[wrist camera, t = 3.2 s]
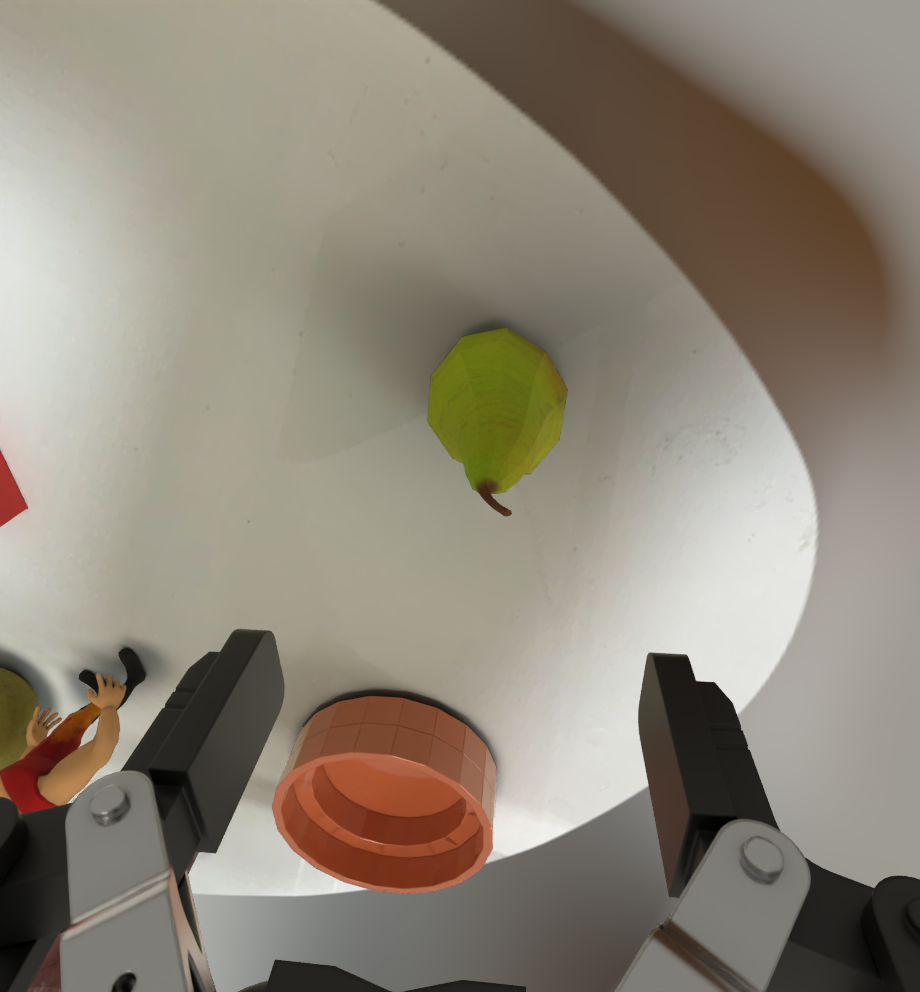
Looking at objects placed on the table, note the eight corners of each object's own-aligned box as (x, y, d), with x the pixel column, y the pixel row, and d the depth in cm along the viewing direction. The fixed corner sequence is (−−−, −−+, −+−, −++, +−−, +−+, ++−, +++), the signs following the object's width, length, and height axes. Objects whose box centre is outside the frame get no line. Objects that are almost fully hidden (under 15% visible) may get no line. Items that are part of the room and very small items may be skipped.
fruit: (420, 332, 29) (355, 433, 19) (552, 301, 28) (561, 390, 17) (455, 454, 32) (416, 600, 22) (576, 430, 31) (596, 574, 20)
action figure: (143, 628, 40) (-44, 855, 27) (182, 665, 42) (21, 898, 29) (55, 678, 44) (-149, 902, 31) (94, 710, 45) (-87, 938, 32)
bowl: (498, 696, 40) (493, 763, 36) (496, 833, 47) (492, 903, 42) (284, 682, 41) (254, 744, 37) (312, 816, 48) (290, 882, 44)
